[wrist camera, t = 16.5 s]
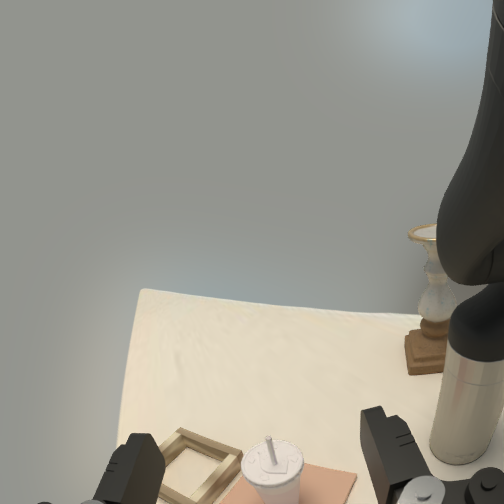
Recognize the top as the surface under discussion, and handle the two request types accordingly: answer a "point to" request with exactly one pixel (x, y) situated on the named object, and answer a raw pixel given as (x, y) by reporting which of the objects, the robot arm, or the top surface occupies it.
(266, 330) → the top surface
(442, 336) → the candle holder
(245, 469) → the smoothie
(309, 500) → the tile
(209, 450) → the square wooden tray
